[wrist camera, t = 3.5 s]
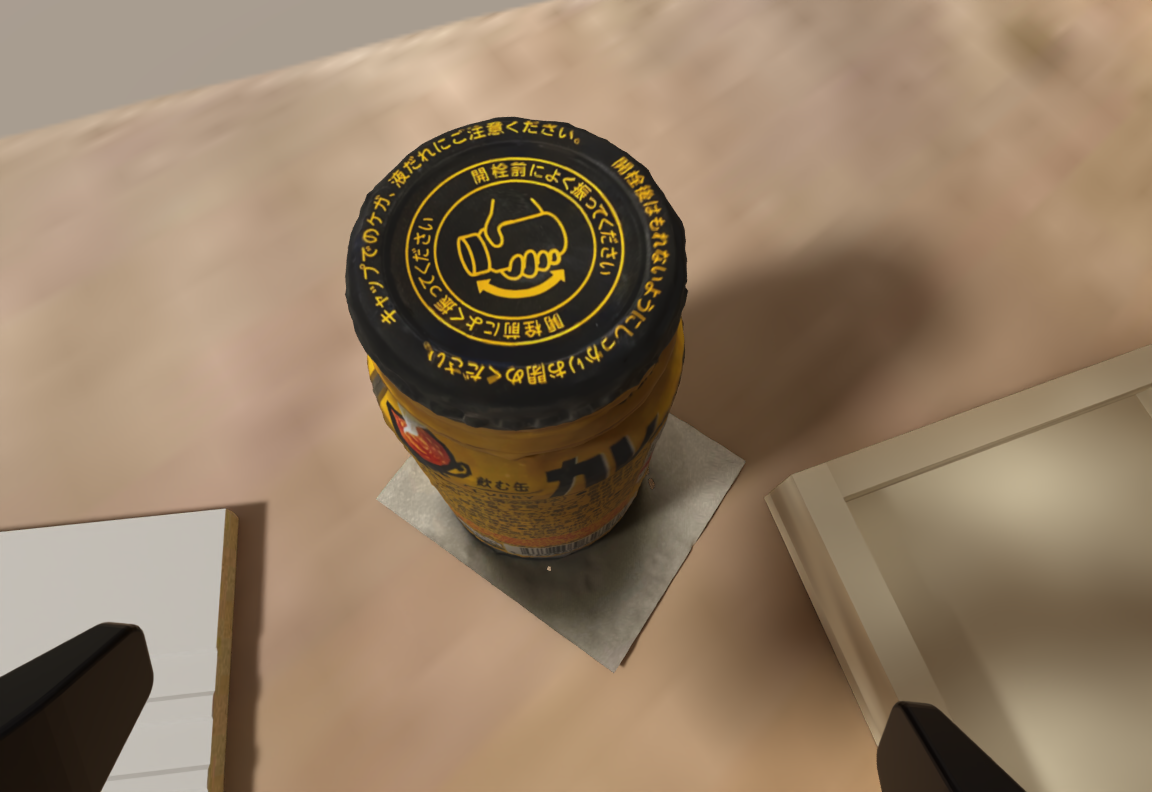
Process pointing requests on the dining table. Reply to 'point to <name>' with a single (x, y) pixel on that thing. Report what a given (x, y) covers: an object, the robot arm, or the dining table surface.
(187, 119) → the dining table surface
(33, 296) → the dining table surface
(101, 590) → the baseboard molding
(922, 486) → the caddy
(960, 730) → the robot arm
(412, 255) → the condiment
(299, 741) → the dining table surface
